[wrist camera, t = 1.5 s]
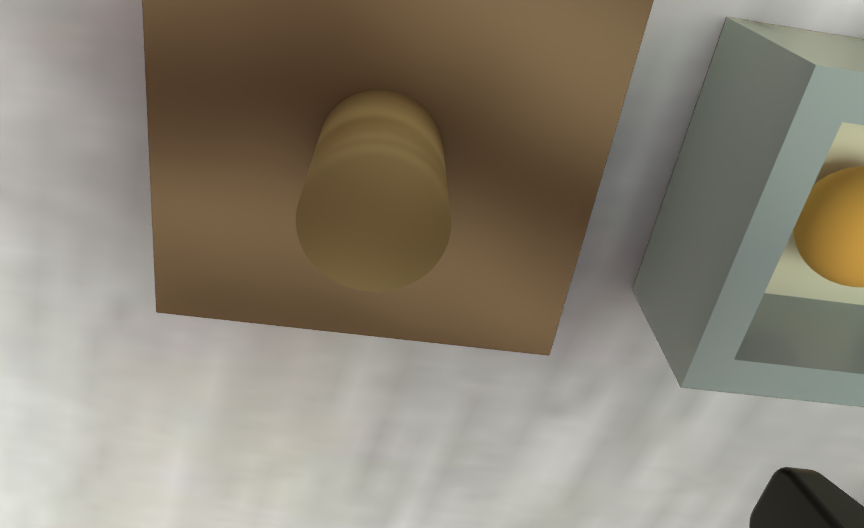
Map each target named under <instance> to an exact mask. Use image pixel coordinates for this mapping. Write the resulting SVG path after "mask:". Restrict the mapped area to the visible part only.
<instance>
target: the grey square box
mask: <svg viewBox="0 0 864 528" xmlns="http://www.w3.org/2000/svg"><path fill="white" fill-rule="evenodd" d="M861 166H864V39H859V38H853V37H847V36H841V35H835V34H828V33H822V32H816V31H810V30H804V29H797V28H791V27H785V26H779V25H773V24H766V23H760V22H754V21H748V20H742V19H736V18H729V17H727V18H726V21H725V23H724V26H723V29H722V32H721V35H720V38H719V41H718V44H717V47H716V49H715V52H714V55H713V58H712V61H711V64H710V67H709V70H708V73H707V75H706V78H705V81H704V84H703V87H702V90H701V93H700V96H699V99H698V101H697V104H696V107H695V110H694V113H693V116H692V119H691V122H690V125H689V127H688V130H687V133H686V136H685V139H684V142H683V145H682V148H681V151H680V154H679V156H678V159H677V162H676V165H675V168H674V171H673V174H672V177H671V180H670V182H669V185H668V188H667V191H666V194H665V197H664V200H663V203H662V206H661V208H660V211H659V214H658V217H657V220H656V223H655V226H654V229H653V232H652V234H651V237H650V240H649V243H648V246H647V249H646V252H645V255H644V258H643V260H642V263H641V266H640V269H639V272H638V275H637V278H636V281H635V284H634V287H633V289H632V291H633V293H634V295H635V297H636V299H637V301H638V303H639V305H640V307H641V309H642V311H643V313H644V315H645V317H646V319H647V321H648V323H649V325H650V327H651V329H652V331H653V333H654V335H655V337H656V339H657V341H658V343H659V345H660V347H661V349H662V351H663V353H664V355H665V357H666V359H667V361H668V363H669V365H670V367H671V369H672V371H673V373H674V375H675V377H676V379H677V381H678V383H679V385H680V387H681V388H691V389H700V390H709V391H718V392H728V393H737V394H746V395H756V396H765V397H774V398H784V399H793V400H802V401H812V402H821V403H830V404H839V405H849V406H858V407H864V287H861V288H860V287H850V286H844V285H840V284H837V283H834V282H831V281H829V280H827V279H825V278H824V277H822V276H820V275H819V274H817V273H816V272H815V271H814V270H812V269H811V268H810V267H809V266H808V265H807V264H806V262H805V261H804V260H803V258H802V257H801V255H800V253H799V251H798V249H797V247H796V244H795V240H794V235H793V229H794V227H795V224H796V222H797V220H798V218H799V216H800V213H801V211H802V209H803V207H804V205H805V202H806V200H807V198H808V196H809V194H810V192H811V189H812V187H813V185H815V184H816V183H817V182H818V181H820V180H821V179H823V178H824V177H826V176H828V175H830V174H832V173H835V172H837V171H840V170H843V169H847V168H852V167H861Z"/></svg>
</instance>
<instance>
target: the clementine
mask: <svg viewBox="0 0 864 528" xmlns="http://www.w3.org/2000/svg"><path fill="white" fill-rule="evenodd" d="M793 235H794V240H795V244H796V247H797V249H798V251H799V253H800V255H801V257H802V258H803V260H804V261H805V262H806V264H807V265H808V266H809V267H810V268H811V269H812V270H814V271H815V272H816V273H817V274H819V275H820V276H822V277H824V278H825V279H827V280H829V281H831V282H834V283H837V284H840V285H844V286H850V287H860V288H861V287H864V166H861V167H852V168H847V169H843V170H840V171H837V172H835V173H832V174H830V175H828V176H826V177H824V178H823V179H821V180H820V181H818V182H817V183H816V184H815V185H813V187H812V189H811V192H810V194H809V196H808V198H807V200H806V202H805V205H804V207H803V209H802V211H801V213H800V216H799V218H798V220H797V222H796V224H795V227H794V229H793Z"/></svg>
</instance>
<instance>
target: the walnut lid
mask: <svg viewBox="0 0 864 528" xmlns="http://www.w3.org/2000/svg"><path fill="white" fill-rule="evenodd" d="M653 1H654V0H142V7H143V29H144V51H145V74H146V96H147V118H148V140H149V162H150V184H151V206H152V228H153V250H154V272H155V294H156V312H158V313H167V314H176V315H185V316H194V317H203V318H212V319H221V320H230V321H240V322H249V323H258V324H267V325H276V326H285V327H294V328H303V329H312V330H321V331H331V332H340V333H349V334H358V335H367V336H376V337H385V338H394V339H403V340H412V341H422V342H431V343H440V344H449V345H458V346H467V347H476V348H485V349H494V350H503V351H513V352H522V353H531V354H540V355H550V351H551V348H552V345H553V341H554V338H555V334H556V331H557V328H558V324H559V321H560V317H561V314H562V311H563V307H564V304H565V300H566V297H567V294H568V290H569V287H570V283H571V280H572V277H573V273H574V270H575V266H576V263H577V260H578V256H579V253H580V249H581V246H582V242H583V239H584V236H585V232H586V229H587V225H588V222H589V219H590V215H591V212H592V208H593V205H594V202H595V198H596V195H597V191H598V188H599V185H600V181H601V178H602V174H603V171H604V168H605V164H606V161H607V157H608V154H609V151H610V147H611V144H612V140H613V137H614V133H615V130H616V127H617V123H618V120H619V116H620V113H621V110H622V106H623V103H624V99H625V96H626V93H627V89H628V86H629V82H630V79H631V76H632V72H633V69H634V65H635V62H636V59H637V55H638V52H639V48H640V45H641V42H642V38H643V35H644V31H645V28H646V24H647V21H648V18H649V14H650V11H651V7H652V4H653Z"/></svg>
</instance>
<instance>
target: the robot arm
mask: <svg viewBox="0 0 864 528" xmlns="http://www.w3.org/2000/svg"><path fill="white" fill-rule="evenodd" d="M749 527H750V528H864V507H863V506H862V505H861V504H859V503H858V502H857V501H855V500H854V499H853V498H851V497H850V496H849V495H848V494H846V493H845V492H844V491H842V490H841V489H840V488H838V487H837V486H836V485H835V484H833V483H832V482H831V481H829V480H828V479H827V478H825V477H824V476H823V475H821V474H820V473H818V472H816V471H813V470H808V469H799V468H789V467H784V468H780V469H779V470H777V471H776V472H775V473H774V474H773V476H772V477H771V479H770V481H769V483H768V485H767V486H766V488H765V490H764V492H763V493H762V495H761V497H760V499H759V500H758V502H757V504H756V506H755V507H754V509H753V511H752V513H751V517H750V525H749Z"/></svg>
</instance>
